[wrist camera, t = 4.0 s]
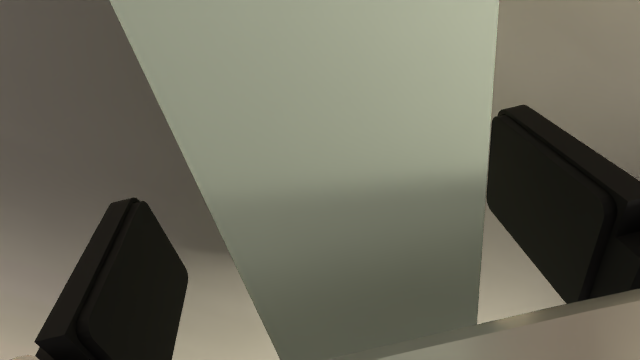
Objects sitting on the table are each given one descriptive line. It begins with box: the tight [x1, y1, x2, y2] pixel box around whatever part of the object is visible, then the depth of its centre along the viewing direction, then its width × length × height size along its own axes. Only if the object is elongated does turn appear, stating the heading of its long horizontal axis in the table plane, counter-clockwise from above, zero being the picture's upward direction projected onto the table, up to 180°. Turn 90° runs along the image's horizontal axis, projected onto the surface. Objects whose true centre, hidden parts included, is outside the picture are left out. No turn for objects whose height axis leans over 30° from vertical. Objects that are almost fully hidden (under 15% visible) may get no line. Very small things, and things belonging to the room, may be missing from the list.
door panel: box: [109, 0, 499, 360], centre depth 11 cm, size 4×16×10 cm, turn 11°
